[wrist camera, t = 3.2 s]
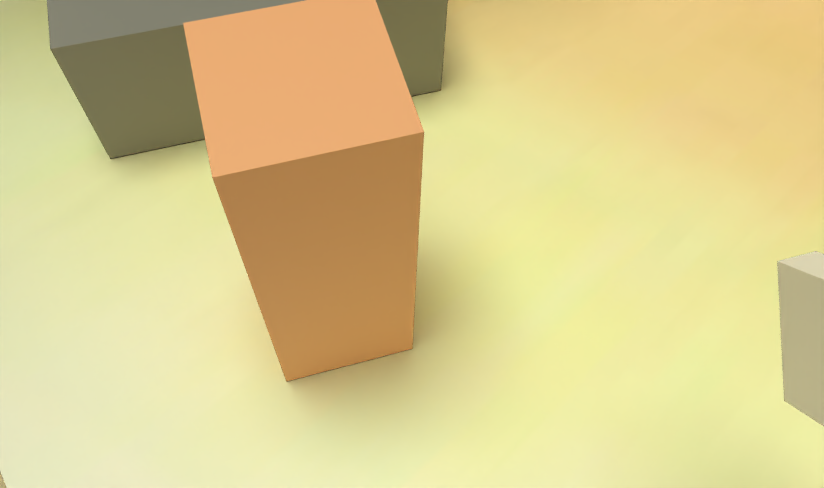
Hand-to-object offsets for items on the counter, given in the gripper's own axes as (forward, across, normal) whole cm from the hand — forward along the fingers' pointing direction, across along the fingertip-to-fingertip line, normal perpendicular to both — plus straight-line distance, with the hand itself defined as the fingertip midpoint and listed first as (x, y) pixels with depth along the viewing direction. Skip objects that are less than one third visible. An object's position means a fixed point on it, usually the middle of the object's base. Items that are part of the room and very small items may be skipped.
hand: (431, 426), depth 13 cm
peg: (+14, -1, -3) cm, 15 cm away
